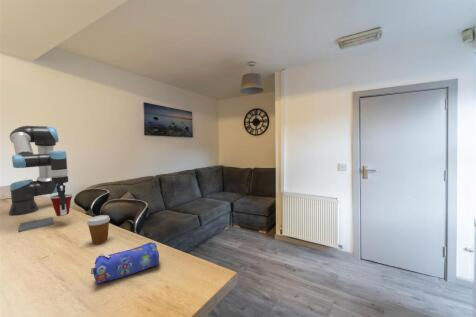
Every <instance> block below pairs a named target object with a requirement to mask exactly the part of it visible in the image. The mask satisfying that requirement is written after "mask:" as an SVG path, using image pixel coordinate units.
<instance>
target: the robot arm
mask: <svg viewBox="0 0 476 317" xmlns="http://www.w3.org/2000/svg"><path fill="white" fill-rule="evenodd" d="M9 141H10V142H11V143H12V144H13V148H14V152H15V154H14V155H12V156H11V163H12V168H14V169H19V168H20V169H25V168H26V169H27V168H37V167H38V174H39V176H37V177H36V180H33V179H23V180H19V181H15V182H12V183H10V189H9V191H10V197H11V198H10V199H11V206H10V208H9V211H8V213H9V214H8V215H9V216H20V215H25V214H26V215H27V214H31V213H35V212H37V211H38V210H39V206H38V204H37V202H36V200H35V197H39V196H46V195H52V194H56V193H57V195H58V196H59V197H60V204H58V205H60V213H61V215H64V216H66V214H67V212H66V200H65V194H66V185H65V183H68V182H69V175H68V172H69V171H70V170H69V169H68V161H67V160H68V158H67V152H66V151H65V150H54V147H55V146H56V145H57V143H60V142H59V134H58V131H57V129H56V128H55V127H54V126H49V125H48V126H47V125H41V126H40V125H23V126H19V127H16V128H15V129H13V130H12V131H11V132H10V134H9ZM31 143H34V146H35V147H37V153H34V151H33V150H34V149H33V148H32V145H31ZM67 215H68V214H67Z"/></svg>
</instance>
